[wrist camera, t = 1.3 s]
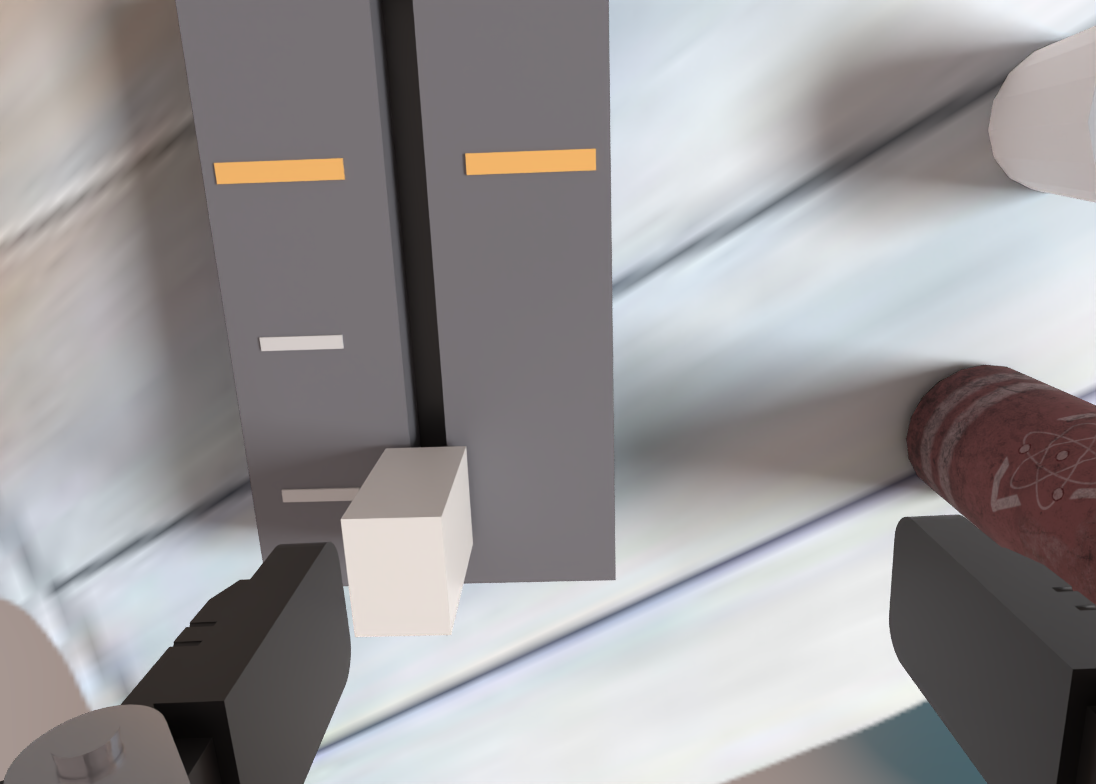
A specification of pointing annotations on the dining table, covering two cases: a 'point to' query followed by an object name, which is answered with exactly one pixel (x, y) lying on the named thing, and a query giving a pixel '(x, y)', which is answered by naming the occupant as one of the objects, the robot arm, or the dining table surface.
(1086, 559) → the can
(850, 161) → the dining table surface
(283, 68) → the slider control panel
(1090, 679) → the robot arm
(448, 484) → the fader knob
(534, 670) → the dining table surface
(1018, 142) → the white cylinder
